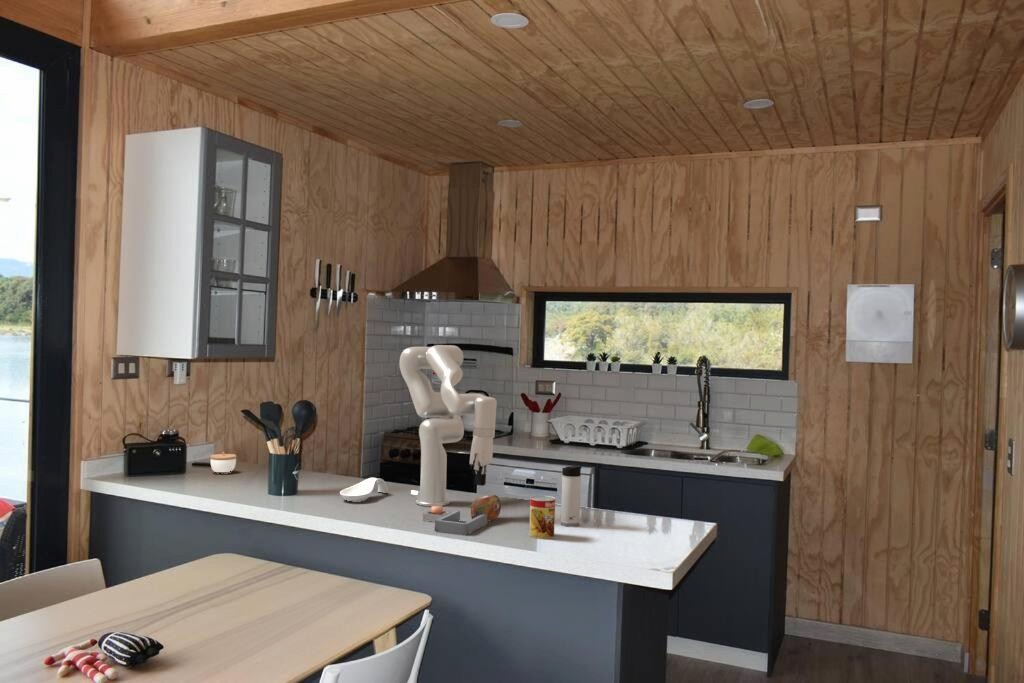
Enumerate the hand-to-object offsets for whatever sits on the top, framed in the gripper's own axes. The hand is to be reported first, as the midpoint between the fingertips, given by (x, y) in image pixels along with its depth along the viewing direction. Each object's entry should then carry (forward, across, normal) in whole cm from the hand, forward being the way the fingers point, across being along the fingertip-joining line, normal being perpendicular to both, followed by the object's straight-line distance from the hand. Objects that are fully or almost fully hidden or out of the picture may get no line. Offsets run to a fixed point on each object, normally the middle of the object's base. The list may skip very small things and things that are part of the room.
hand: (480, 484), depth 281 cm
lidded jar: (+19, -26, -131) cm, 135 cm away
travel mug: (+10, -2, +33) cm, 34 cm away
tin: (+11, +6, +5) cm, 13 cm away
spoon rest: (+14, -9, -50) cm, 53 cm away
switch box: (+11, +12, -10) cm, 19 cm away
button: (+9, +12, -10) cm, 18 cm away
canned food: (+9, +17, +29) cm, 35 cm away
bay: (+10, +18, +2) cm, 21 cm away
